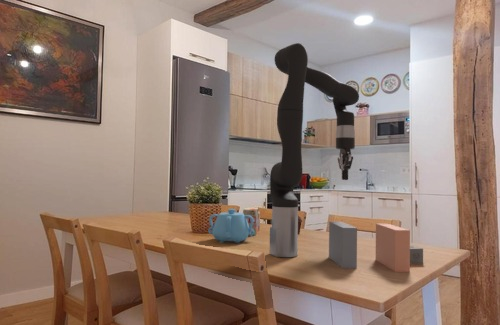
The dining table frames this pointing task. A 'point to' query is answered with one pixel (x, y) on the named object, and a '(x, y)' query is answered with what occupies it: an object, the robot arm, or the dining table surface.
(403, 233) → the terracotta slab
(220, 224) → the decorative pot
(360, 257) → the dining table surface
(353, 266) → the slate slab
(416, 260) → the dice cube
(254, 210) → the stack of blocks
